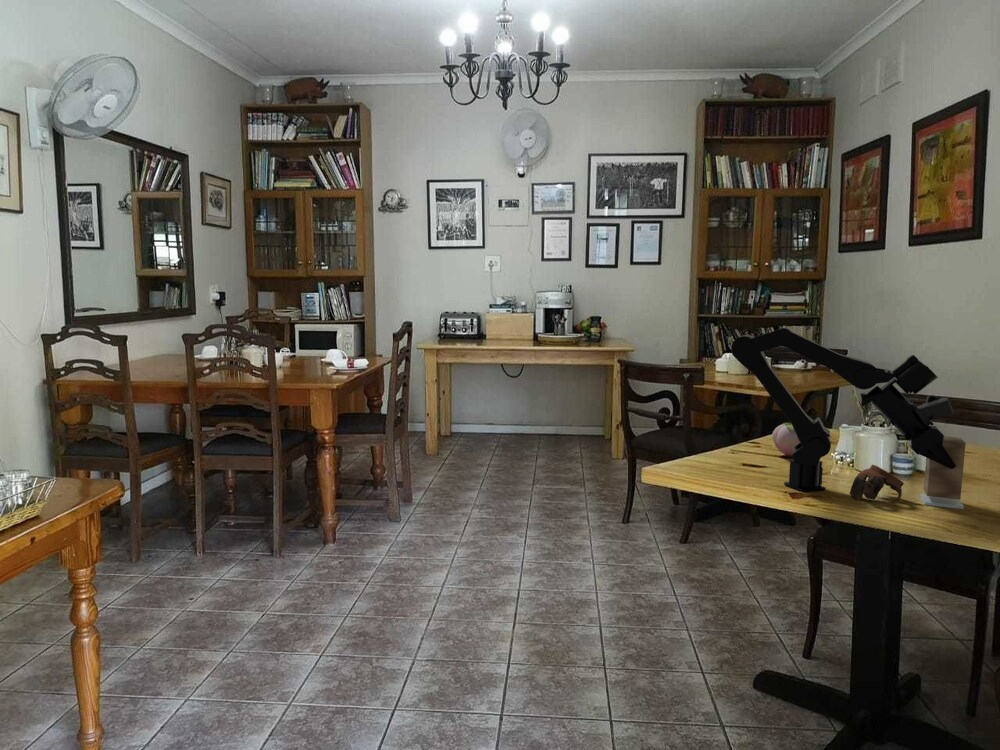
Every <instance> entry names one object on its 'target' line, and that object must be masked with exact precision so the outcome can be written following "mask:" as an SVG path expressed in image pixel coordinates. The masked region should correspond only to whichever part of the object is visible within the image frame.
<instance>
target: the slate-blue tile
mask: <svg viewBox="0 0 1000 750" xmlns="http://www.w3.org/2000/svg"><path fill="white" fill-rule="evenodd" d="M920 496H921V497H920V498H921V500H922V503H923V504H925V506H931V505H932V506H933V507H941V508H949V509H951V508H952V509H959V510H964V504H963V503H962V501H961V499H960V500H958V499H949V498H941V497H932V496H927V495H926V493H920Z"/></svg>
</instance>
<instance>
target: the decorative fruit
mask: <svg viewBox="0 0 1000 750" xmlns="http://www.w3.org/2000/svg"><path fill="white" fill-rule="evenodd" d="M788 421H789V420H788ZM771 435H772V441H773V443H774V446H775V448H777V450H778V451H779V452H780V453H782V454H783V455H784V456H786V457H790V456H792V453H793V448H794V447H795V446H796V445H798V444H799V443H800V441H799V439H798V437H797V435H796V433H795V430H794V428H793V426H792V424H791V423H790V421H789V422H783V423H782V424H780V425H777V427H775V429H774V430H773V431H772V434H771Z"/></svg>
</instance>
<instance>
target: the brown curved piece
mask: <svg viewBox="0 0 1000 750" xmlns="http://www.w3.org/2000/svg"><path fill="white" fill-rule="evenodd" d="M885 485H886V486H888V487H890V489H892V490H893V491H895V492H896V493H897V497H896V502H897V501H898V502H900V499H901V498H902V493H903V489H902V487H903V485H905V483H904V482H903V481H902V480H901V479H899V478H898V477H896V476H895V475H893V474H891V473H890V472H888V471H886V470H885V469H883V468H882V467H879V466H878V465H876V464H871V466H870V467H869V468H866V469H863V470H861V471H860V472H858V473H857V474H856V477H855V478H854V479H853V481H852V484H851V486H850V487H851V488H850V491H849V494H850V495H851V496H852V497H853V498H855V499H856V500H858V501H861V500H862V499H863V498H862V497H863V496H864V497H865V498H866V499H868V500H876V499H877V497H878V495H879V493H880V492H881V491H882V489H883V488H884V486H885Z"/></svg>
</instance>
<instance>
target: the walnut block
mask: <svg viewBox="0 0 1000 750" xmlns="http://www.w3.org/2000/svg"><path fill="white" fill-rule="evenodd" d="M966 444H967V443H966V442H965V441H964V439H962V438H961V437H955V436H945V435H944V439H943V447H944V448H945V450H946V451H947V453H948V454H949V456H950V457H951V459H952V460H953V462H954V463H955V465H956V467H955V468H953V469H950V468H948V467H946V466H944V465H942V464H939V463H937V462H935V461H933V460H931V459H929V458H926V457H925V466H924V480H923V492H924V494H926V495H927V496H932V497H941V498H949V499H958V500H960V501H961V498H962V487H963V476H964V465H965V464H964V463H965V453H966Z"/></svg>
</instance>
